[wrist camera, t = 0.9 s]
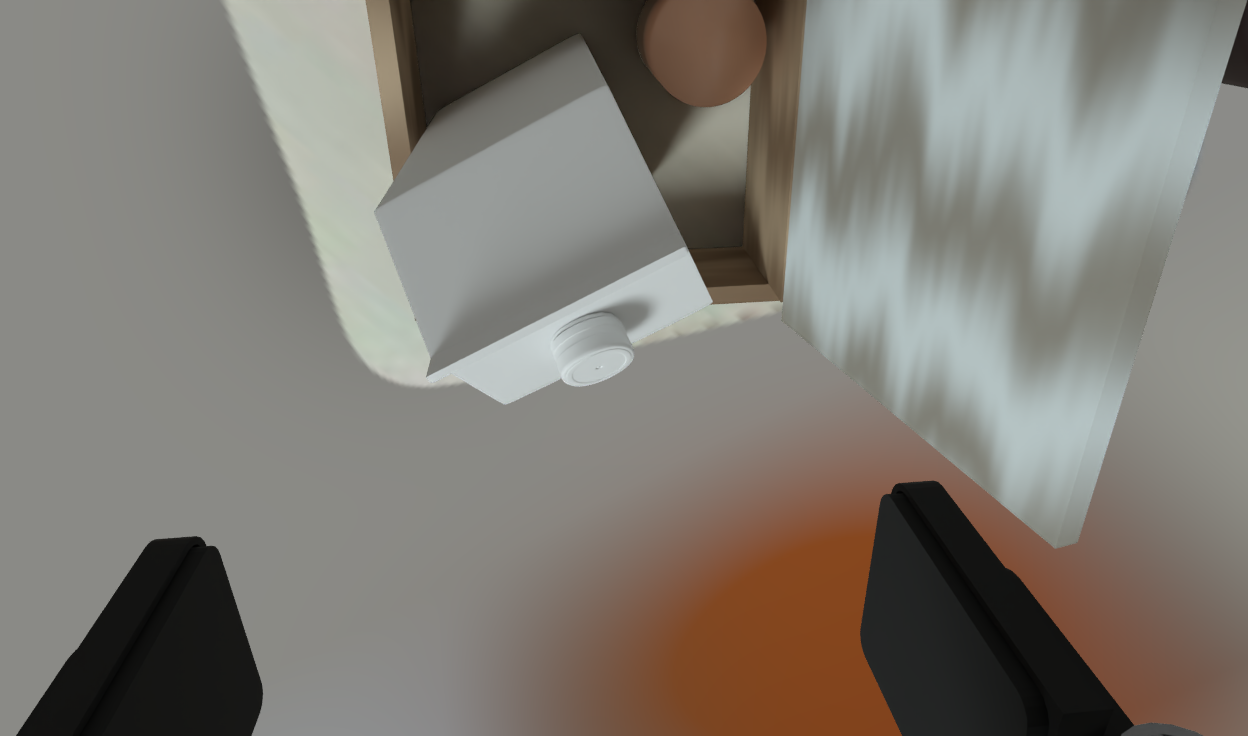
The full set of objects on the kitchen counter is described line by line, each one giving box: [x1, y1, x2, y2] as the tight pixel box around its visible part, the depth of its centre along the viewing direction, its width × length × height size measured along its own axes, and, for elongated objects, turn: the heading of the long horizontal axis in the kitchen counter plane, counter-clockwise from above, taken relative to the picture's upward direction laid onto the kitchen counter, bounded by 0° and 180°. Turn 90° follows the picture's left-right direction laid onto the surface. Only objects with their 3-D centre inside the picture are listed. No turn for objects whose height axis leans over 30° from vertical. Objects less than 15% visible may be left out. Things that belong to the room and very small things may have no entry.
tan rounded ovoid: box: [636, 0, 767, 107], centre depth 32 cm, size 4×4×5 cm
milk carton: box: [374, 34, 713, 405], centre depth 28 cm, size 7×7×19 cm
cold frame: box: [366, 0, 1247, 548], centre depth 26 cm, size 14×19×22 cm
